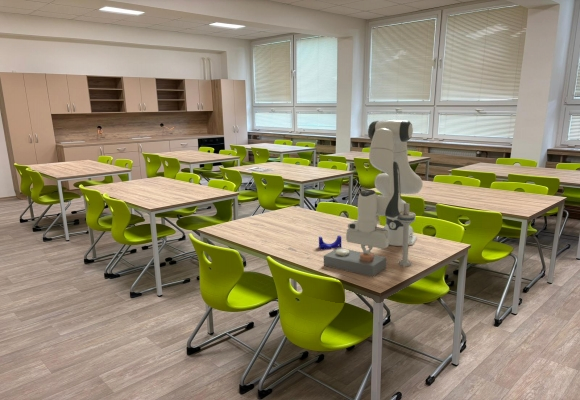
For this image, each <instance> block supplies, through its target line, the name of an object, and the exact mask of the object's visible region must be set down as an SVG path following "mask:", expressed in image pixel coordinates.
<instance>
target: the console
mask: <svg viewBox="0 0 580 400" xmlns="http://www.w3.org/2000/svg"><path fill="white" fill-rule="evenodd" d="M339 249H343V247H338V248H336V249H334V250H331V251H330V252H327V253H326V254H324V255H323V266H325V267H328V268H333V269H337V270H342V271H346V272H350V273H354V274H359V275H363V276H367V277H370V278H371V277H372V278H374V277H375V276H376V275H378V274H379V273H381V272H382V271H383V270H384V269H386V268H387V256H381V255H376V254H374V259H373V260H372V261H370V262H367V261H363V260H360V253H362V252H363V251H362V252H361V251H356V250H351V249H347V248H345V249H346V250H349V255H347V256H345V257H344V256H339V255H336V250H339Z"/></svg>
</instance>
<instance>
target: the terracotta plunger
mask: <svg viewBox="0 0 580 400" xmlns="http://www.w3.org/2000/svg"><path fill="white" fill-rule="evenodd" d="M374 255H375V254H374V252H371V251H370V255H367V254H363V251H362V253H360V260H363V261H367V262H370V261H372V260H373V259H374Z"/></svg>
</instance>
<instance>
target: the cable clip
mask: <svg viewBox="0 0 580 400" xmlns="http://www.w3.org/2000/svg"><path fill="white" fill-rule="evenodd" d="M336 236H337V237H336V240H335V241H334V242H333V243H327V242H325V241H324V240H323V237H322V236H318V248H319V250H320V249H322V250H331V249H334V248H336V249H337V248H342V236H341V235H336Z"/></svg>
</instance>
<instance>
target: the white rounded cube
mask: <svg viewBox="0 0 580 400" xmlns="http://www.w3.org/2000/svg"><path fill="white" fill-rule="evenodd" d="M346 249H347V248H342V249H339V250H336V255H339V256H344V257H345V256H347V255H349V250H350V249H347V250H346Z"/></svg>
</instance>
